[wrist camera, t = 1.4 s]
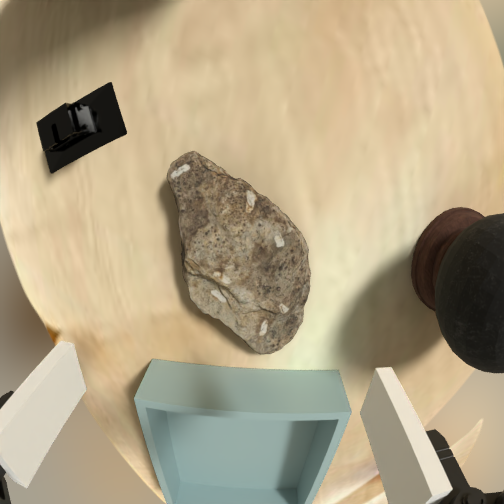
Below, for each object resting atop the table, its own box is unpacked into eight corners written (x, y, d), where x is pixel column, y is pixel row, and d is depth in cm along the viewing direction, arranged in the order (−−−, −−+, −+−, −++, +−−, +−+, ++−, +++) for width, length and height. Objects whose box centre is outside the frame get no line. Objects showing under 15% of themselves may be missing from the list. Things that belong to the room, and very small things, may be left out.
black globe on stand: (380, 249, 27) (472, 333, 13) (474, 172, 24) (589, 198, 10) (428, 338, 30) (495, 429, 16) (508, 269, 27) (592, 326, 13)
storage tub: (152, 358, 31) (133, 398, 25) (338, 370, 31) (351, 411, 25) (176, 478, 39) (169, 509, 33) (301, 486, 39) (304, 518, 33)
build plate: (45, 186, 26) (18, 193, 22) (29, 125, 24) (2, 124, 20) (145, 135, 25) (125, 132, 21) (125, 66, 23) (103, 53, 19)
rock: (349, 282, 28) (360, 298, 25) (267, 349, 31) (267, 371, 27) (206, 134, 25) (198, 131, 21) (127, 222, 27) (111, 232, 24)
